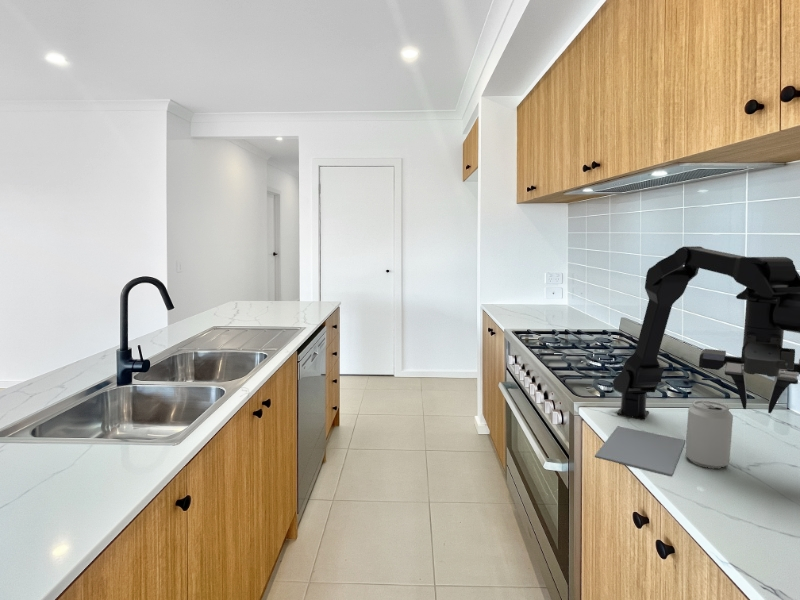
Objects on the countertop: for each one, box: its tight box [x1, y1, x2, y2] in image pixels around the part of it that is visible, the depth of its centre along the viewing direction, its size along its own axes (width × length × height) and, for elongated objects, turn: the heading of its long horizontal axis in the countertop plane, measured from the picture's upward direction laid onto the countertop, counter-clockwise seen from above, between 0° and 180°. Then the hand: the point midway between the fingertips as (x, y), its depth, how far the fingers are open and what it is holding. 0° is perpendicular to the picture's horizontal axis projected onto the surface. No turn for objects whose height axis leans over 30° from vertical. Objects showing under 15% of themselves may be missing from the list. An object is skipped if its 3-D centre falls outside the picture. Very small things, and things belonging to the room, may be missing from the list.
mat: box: [594, 425, 686, 477], centre depth 103 cm, size 20×14×1 cm
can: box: [684, 399, 734, 469], centre depth 96 cm, size 8×8×12 cm
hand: (756, 410), depth 89 cm, fingers open, 3 cm apart
